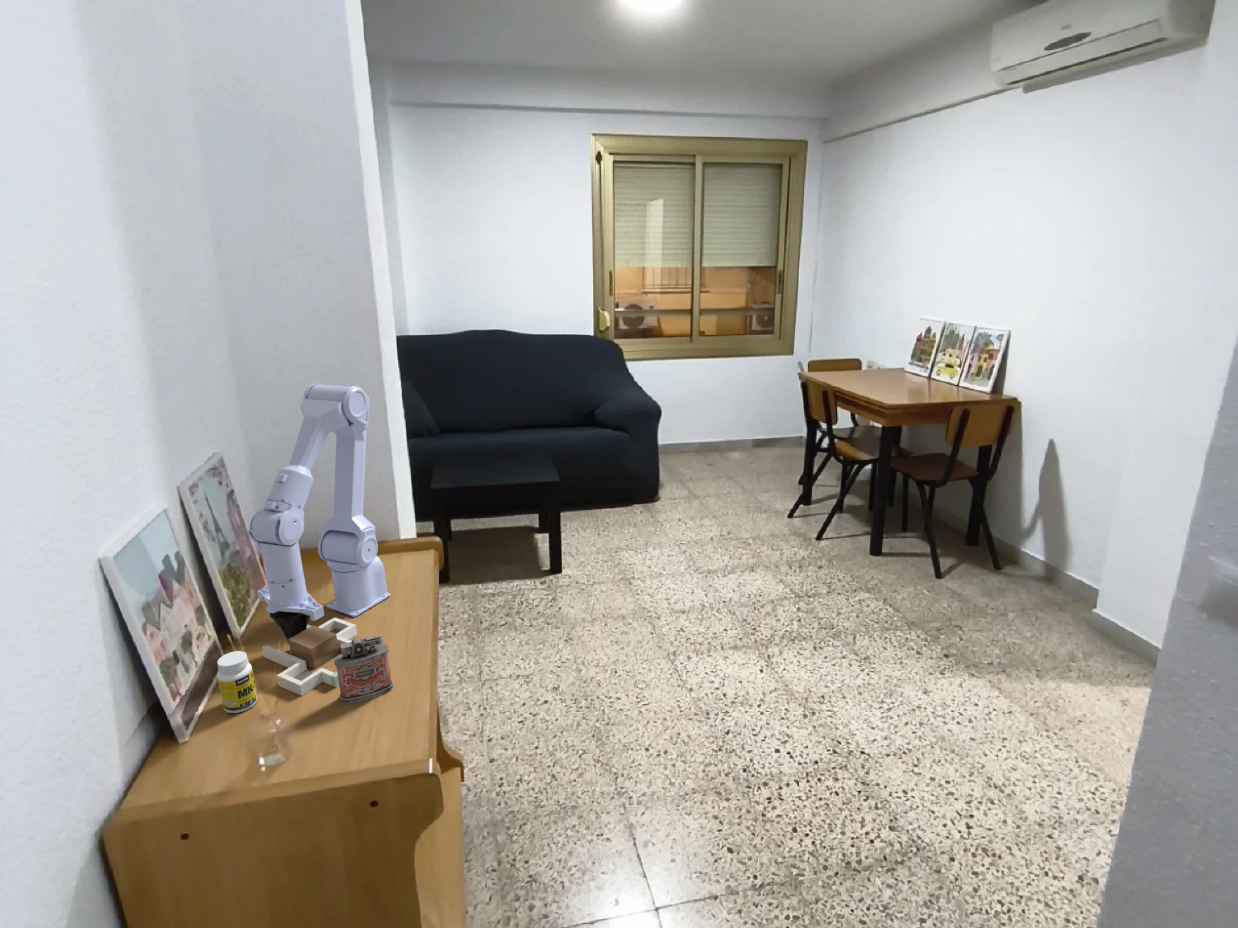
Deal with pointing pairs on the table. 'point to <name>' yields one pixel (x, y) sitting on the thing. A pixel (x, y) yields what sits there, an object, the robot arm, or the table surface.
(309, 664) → the block
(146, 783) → the table surface
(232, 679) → the supplement bottle
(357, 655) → the lighter
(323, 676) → the white zigzag frame
